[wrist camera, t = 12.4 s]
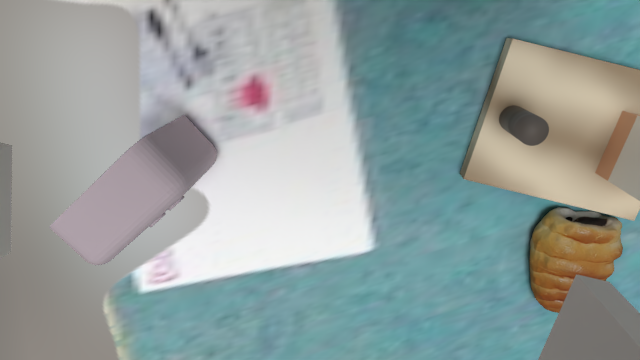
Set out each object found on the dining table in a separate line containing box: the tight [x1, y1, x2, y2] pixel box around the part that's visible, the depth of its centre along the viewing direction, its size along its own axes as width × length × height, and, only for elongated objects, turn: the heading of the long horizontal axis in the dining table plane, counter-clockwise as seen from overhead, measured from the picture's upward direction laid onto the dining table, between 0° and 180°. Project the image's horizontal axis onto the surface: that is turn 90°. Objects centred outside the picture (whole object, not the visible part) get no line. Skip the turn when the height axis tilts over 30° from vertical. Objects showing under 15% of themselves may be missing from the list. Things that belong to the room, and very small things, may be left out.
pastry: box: [530, 207, 623, 313], centre depth 40 cm, size 9×7×4 cm
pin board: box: [460, 38, 640, 221], centre depth 35 cm, size 11×14×6 cm
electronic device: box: [50, 115, 217, 265], centre depth 37 cm, size 10×5×10 cm, turn 131°
